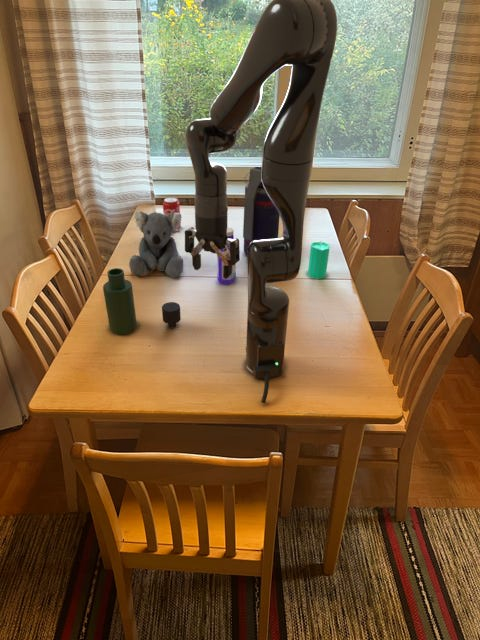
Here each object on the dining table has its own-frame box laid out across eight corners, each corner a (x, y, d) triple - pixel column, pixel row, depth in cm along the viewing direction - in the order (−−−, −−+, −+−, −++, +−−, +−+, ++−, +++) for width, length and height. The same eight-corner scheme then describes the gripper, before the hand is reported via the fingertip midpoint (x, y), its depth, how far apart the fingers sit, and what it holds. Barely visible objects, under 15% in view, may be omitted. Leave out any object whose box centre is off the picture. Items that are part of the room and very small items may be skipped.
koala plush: (128, 278, 151) (121, 220, 140) (138, 254, 166) (132, 199, 155) (183, 279, 151) (180, 221, 140) (187, 254, 166) (185, 200, 155)
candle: (305, 276, 155) (308, 242, 148) (311, 268, 159) (315, 235, 152) (322, 280, 152) (326, 246, 146) (328, 272, 157) (333, 239, 150)
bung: (182, 329, 128) (181, 310, 125) (164, 331, 127) (162, 312, 124) (179, 320, 132) (178, 301, 128) (162, 322, 131) (160, 303, 127)
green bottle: (137, 333, 126) (130, 277, 117) (110, 336, 125) (100, 280, 115) (136, 318, 132) (129, 264, 123) (109, 321, 131) (100, 266, 121)
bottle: (232, 286, 148) (233, 235, 138) (215, 284, 149) (214, 233, 139) (237, 276, 154) (238, 225, 144) (220, 274, 155) (220, 223, 145)
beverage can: (162, 227, 185) (160, 198, 179) (177, 225, 188) (176, 195, 181) (167, 233, 181) (165, 203, 174) (183, 231, 183) (181, 201, 176)
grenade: (257, 243, 175) (260, 161, 158) (283, 253, 169) (290, 168, 152) (233, 256, 166) (234, 170, 149) (260, 266, 160) (264, 178, 143)
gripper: (176, 210, 109) (179, 272, 118) (230, 222, 103) (229, 286, 112) (194, 200, 114) (196, 260, 123) (246, 211, 109) (244, 273, 118)
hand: (212, 272), depth 118 cm, fingers open, 8 cm apart
